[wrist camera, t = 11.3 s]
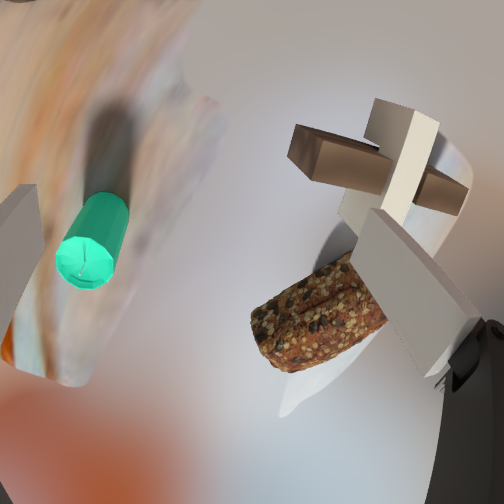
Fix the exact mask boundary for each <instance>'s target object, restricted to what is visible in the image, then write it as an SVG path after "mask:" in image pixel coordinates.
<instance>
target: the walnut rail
mask: <svg viewBox="0 0 504 504" xmlns="http://www.w3.org/2000/svg"><path fill="white" fill-rule="evenodd" d="M378 151H379V147H376V146H372V145H369V144H366V143H363V142H360V141H357V140H353V139H350V138H347V137H343V136H340V135H336V134H333V133H329V132H325V131H322V130H318V129H314V128H310V127H306V126H302V125H298V124H296V126H295V129H294V133H293V137H292V140H291V144H290V148H289V151H288V155H287V157H288V158H289V159H290V160H291V161H292V162H293V163H294V164H295V165H296V166H297V167H298V168H299V169H300V170H301V171H302V172H303V173H304V174H305V175H306V176H307V177H308V178H309V179H310V180H311V181H316V182H321V183H326V184H331V185H336V186H340V187H345V188H349V189H354V190H358V191H363V192H367V193H371V194H375V195H380V196H381V193H382V191H383V188H384V185H385V183H386V180H387V177H388V174H389V172H390V169H391V166H392V163H393V160H391V159H389V158H387V157H386V156H384V155H382V154H381V153H379V152H378ZM468 190H469V189H468V188H466V187H465V186H463V185H462V184H460V183H458V182H457V181H455V180H454V179H452V178H450V177H449V176H447V175H445V174H444V173H442V172H440V171H439V170H437V169H435V168H434V167H432V166H429V165H426V166H425V169H424V172H423V175H422V177H421V180H420V182H419V185H418V188H417V190H416V193H415V195H414V198H413V200H412V202H413V203H414V204H415V205H419V206H422V207H426V208H430V209H433V210H437V211H440V212H444V213H447V214H451V215H454V216H458V213H459V211H460V209H461V207H462V204H463V202H464V199H465V197H466V195H467V192H468Z"/></svg>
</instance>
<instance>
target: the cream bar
mask: <svg viewBox="0 0 504 504" xmlns="http://www.w3.org/2000/svg"><path fill="white" fill-rule="evenodd" d="M439 125H440V122H438V121H436V120H434V119H432V118H430V117H428V116H426V115H424V114H422V113H420V112H418V111H416V110H413V109H410V108H407V107H404V106H401V105H397V104H394V103H391V102H387V101H384V100H380V99H377V98H375V101H374V105H373V108H372V111H371V114H370V118H369V121H368V124H367V128H366V131H365V134H364V138H366V139H368V140H370V141H371V142H373V143H375V144H377V145H379V146H380V148H379V151H378V152H379V153H381V154H382V155H384V156H386V157H387V158H389V159H391V160H393V163H392V166H391V169H390V172H389V174H388V177H387V180H386V183H385V185H384V188H383V191H382V193H381V196H380V195H375V194H371V193H367V192H363V191H358V190H354V189H349V188H346V191H345V194H344V197H343V200H342V203H341V206H340V208H339V211H338V215H339V216H340V217H341V218H342V219H343V220H344V222H345V223H346V224H347V225H348V226H349V227H350V228H351V229H352V231H353V232H354V233H355V234H356V235H357V236H358V238H359V235H360V232H361V230H362V227H363V225H364V222H365V219H366V217H367V214H368V211H369V208H377V209H383V210H385V211H386V212H387V213H388V214H389V215H390V216H391V217H392V218H393V219H394V220H395V221H396V222H397V223H398V224H399V225H400V226H402V224H403V222H404V219H405V217H406V215H407V212H408V210H409V208H410V205H411V203H412V200H413V198H414V195H415V193H416V190H417V188H418V185H419V182H420V180H421V177H422V175H423V172H424V169H425V166H426V164H427V161H428V158H429V155H430V152H431V150H432V147H433V144H434V141H435V138H436V135H437V132H438V128H439Z"/></svg>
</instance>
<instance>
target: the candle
mask: <svg viewBox="0 0 504 504" xmlns="http://www.w3.org/2000/svg"><path fill="white" fill-rule="evenodd" d="M128 219H129V210H128V208H127V206H126V205H125V203H124V201H123V200H122V199H121V198H119V197H118V196H116V195H115V194H113V193H108V192H98V193H96V194H94V195H93V196H91V197H89V198H88V200H87V201H86V203H85V204H84V206H83V208H82V209H81V211H80V212H79V214H78V216H77V217H76V219H75V221H74V222H73V224H72V226H71V227H70V229H69V231H68V232H67V234H66V236H65V238H64V239H63V241H62V243H61V245H60V247H59V249H58V251H57V253H56V267H57V271H58V272H59V273H60V275H61V276H62V277H63V278H64V279H65V281H67V282H68V283H70V284H71V285H73V286H75V287H76V288H78V289H85V290H95V289H97V288H98V287H100V286H102V285H104V284H106V283H107V282H108V281H109V279H110V278H111V277H112V275H113V274H114V270H115V266H116V263H117V259H118V256H119V252H120V249H121V245H122V242H123V238H124V235H125V232H126V228H127V225H128Z"/></svg>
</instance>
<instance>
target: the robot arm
mask: <svg viewBox="0 0 504 504" xmlns="http://www.w3.org/2000/svg"><path fill="white" fill-rule="evenodd" d="M6 1H10V2H17V3H22V2H30V1H34V0H6ZM45 248H46V247H45V242H44V236H43V231H42V224H41V218H40V211H39V203H38V195H37V185H36V184H20V185H19V186H18V187H17V188H16V189H15V190H14V191H13V192H12V193H11V194H10V195H9V196H8V197H7V198H6V199H5V200H4V201H3V202H2V203H1V205H0V347H1V344H2V342H3V339H4V336H5V334H6V331H7V329H8V326H9V324H10V321H11V319H12V317H13V314H14V312H15V309H16V307H17V305H18V303H19V300H20V298H21V296H22V294H23V292H24V290H25V287H26V285H27V283H28V281H29V279H30V277H31V275H32V273H33V271H34V269H35V267H36V265H37V263H38V261H39V259H40V257H41V255H42V254H43V252H44V250H45ZM349 261H350V263H351V264H352V266H353V267H354V269H355V270H356V272H357V273H358V275H359V276H360V278H361V279H362V281H363V282H364V283H365V285H366V286H367V288H368V289H369V291H370V293H371V294H372V296H373V297H374V299H375V300H376V302H377V303H378V305H379V306H380V308H381V309H382V311H383V312H384V314H385V316H386V317H387V319H388V320H389V322H390V323H391V325H392V326H393V328H394V330H395V331H396V333H397V335H398V336H399V338H400V340H401V341H402V343H403V344H404V346H405V348H406V349H407V351H408V352H409V354H410V356H411V358H412V359H413V361H414V362H415V364H416V366H417V368H418V369H419V371H420V373H421V375H422V376H423V377H427V376H431V375H434V374H437V373H438V372H439V371H440V370H441V369H442V368H443V366H444V365H445V364H446V363H447V362H448V363H449V365H450V366H451V368H450V369H449V370H448V372H447V373H446V374H445V375H444V376H443V377H442V378H441V380H440V381H439V382H438V383H437V384H436V385H435V388H434V389H435V390H437V389H438V388H439V387H440V386H441V384H445V386H444V387H443V388H442V389H441V390H440V392H442V393H444V402H443V411H442V419H441V426H440V433H439V439H438V445H437V451H436V456H435V462H434V466H433V471H432V476H431V480H430V485H429V489H428V493H427V497H426V500H425V504H504V326H503V325H502V324H501V323H499V322H498V321H495V320H488V321H487V322H485V321H484V320H483V319H482V317H481V315H480V313H479V312H478V311H477V310H476V308H475V307H474V306H473V305H472V303H471V302H470V301H469V300H468V299H467V298H466V296H465V295H464V294H463V293H462V292H461V291H460V289H459V288H458V287H457V286H456V285H455V284H454V282H452V280H451V279H450V278H449V277H448V276H447V275H446V273H445V272H444V271H443V270H442V269H441V268H440V267H439V266H438V265H437V263H436V262H435V261H434V260H433V259H432V258H431V257H430V256H429V255H428V254H427V253H426V252H425V250H424V249H423V248H422V247H421V246H420V245H419V244H418V243H417V242H416V241H415V240H414V239H413V238H412V237H411V236H410V235H409V234H408V233H407V232H406V231H405V230H404V229H403V228H402V227H401V226H400V225H399V224H398V223H397V222H396V221H395V220H394V219H393V218H392V217H391V216H390V215H389V214H388V213H387V212H386V211H385V210H383V209H377V208H369V211H368V214H367V217H366V219H365V222H364V225H363V227H362V230H361V232H360V235H359V238H358V240H357V243H356V245H355V248H354V250H353V253H352V255H351V258H350V260H349ZM0 504H13V503H12V501H11V499H10V498H9V496H8V494H7V493H6V491H5V489H4V488H3V486H2V484H1V482H0Z"/></svg>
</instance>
